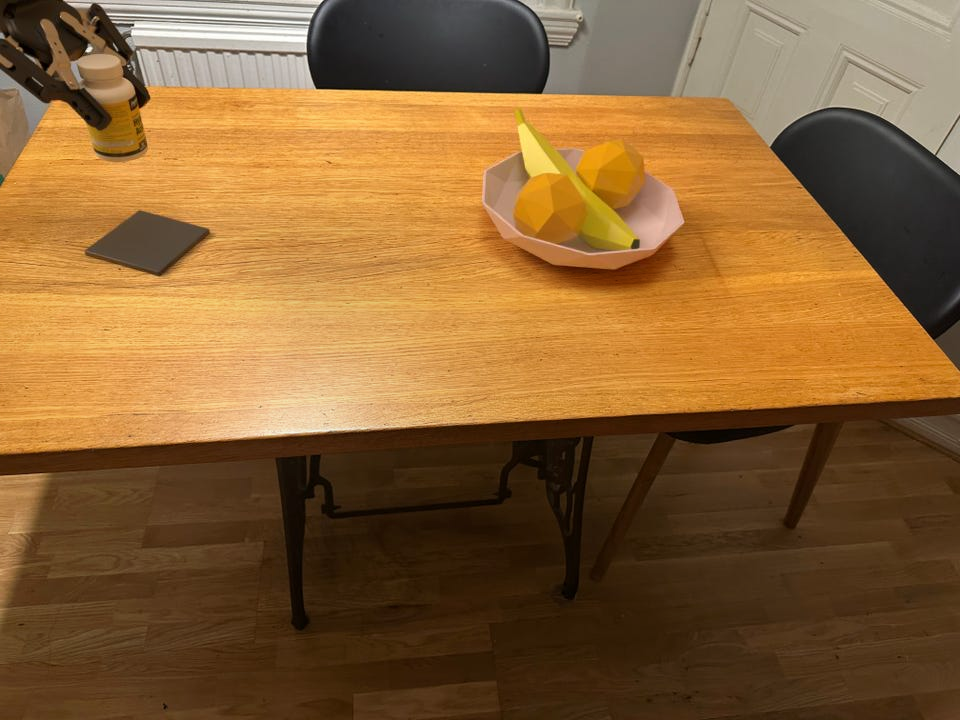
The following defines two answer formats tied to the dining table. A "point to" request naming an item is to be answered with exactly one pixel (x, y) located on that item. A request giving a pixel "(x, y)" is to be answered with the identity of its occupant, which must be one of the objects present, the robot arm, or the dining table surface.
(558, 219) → the fruit bowl
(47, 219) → the dining table surface
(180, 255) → the coaster
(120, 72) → the supplement bottle
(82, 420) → the dining table surface
